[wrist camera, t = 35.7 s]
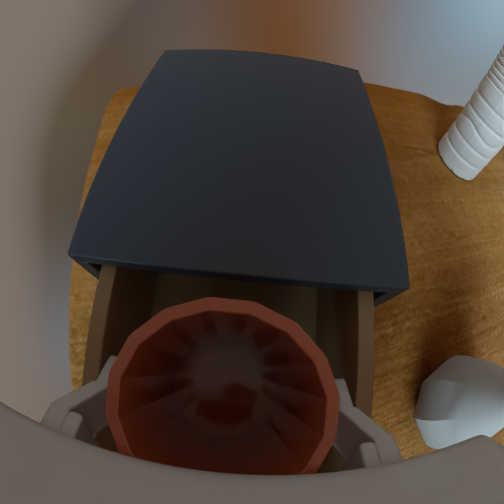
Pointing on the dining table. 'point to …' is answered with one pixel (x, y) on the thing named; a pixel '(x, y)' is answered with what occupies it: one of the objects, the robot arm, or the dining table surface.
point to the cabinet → (248, 178)
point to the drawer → (269, 295)
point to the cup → (223, 391)
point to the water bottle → (477, 126)
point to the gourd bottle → (460, 402)
